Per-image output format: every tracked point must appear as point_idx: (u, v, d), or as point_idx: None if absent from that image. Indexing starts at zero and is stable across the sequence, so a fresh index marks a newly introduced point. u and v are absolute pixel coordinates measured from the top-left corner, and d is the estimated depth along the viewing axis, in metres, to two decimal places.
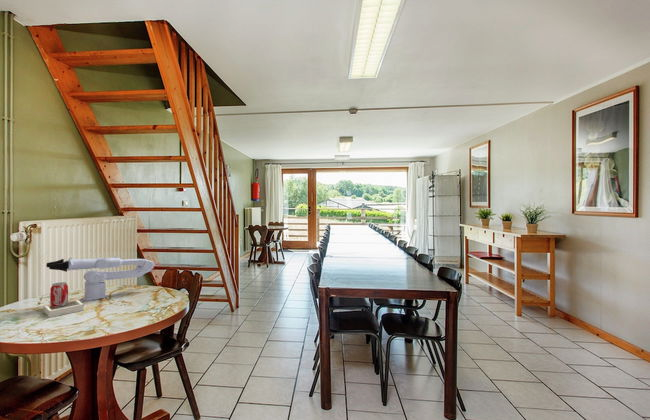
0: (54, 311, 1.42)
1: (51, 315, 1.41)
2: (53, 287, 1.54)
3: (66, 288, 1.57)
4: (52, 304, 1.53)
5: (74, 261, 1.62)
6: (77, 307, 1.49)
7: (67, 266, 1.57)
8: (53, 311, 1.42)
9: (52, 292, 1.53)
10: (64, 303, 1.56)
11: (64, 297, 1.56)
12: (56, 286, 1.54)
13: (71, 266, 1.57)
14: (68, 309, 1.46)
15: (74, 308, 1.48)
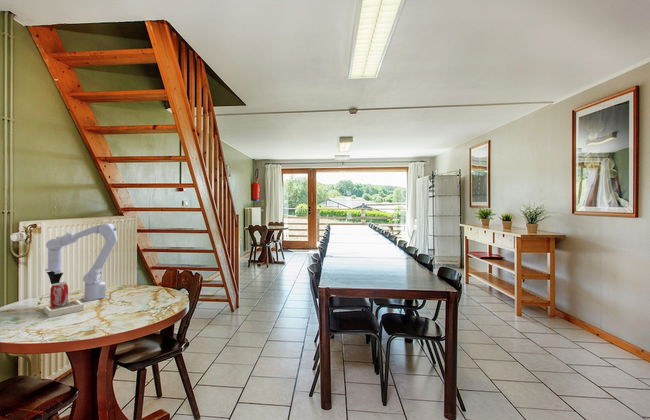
0: (54, 311, 1.42)
1: (51, 315, 1.41)
2: (53, 287, 1.54)
3: (66, 288, 1.57)
4: (52, 304, 1.53)
5: (50, 267, 1.61)
6: (77, 307, 1.49)
7: None
8: (53, 311, 1.42)
9: (52, 292, 1.53)
10: (64, 303, 1.56)
11: (64, 297, 1.56)
12: (56, 286, 1.54)
13: (57, 271, 1.59)
14: (68, 309, 1.46)
15: (74, 308, 1.48)
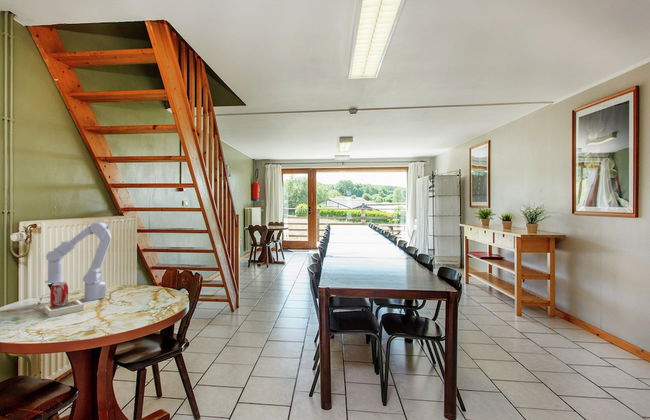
0: (54, 311, 1.42)
1: (51, 315, 1.41)
2: (53, 287, 1.54)
3: (66, 288, 1.57)
4: (52, 304, 1.53)
5: (50, 279, 1.61)
6: (77, 307, 1.49)
7: None
8: (53, 311, 1.42)
9: (52, 292, 1.53)
10: (64, 303, 1.56)
11: (64, 297, 1.56)
12: (56, 286, 1.54)
13: None
14: (68, 309, 1.46)
15: (74, 308, 1.48)
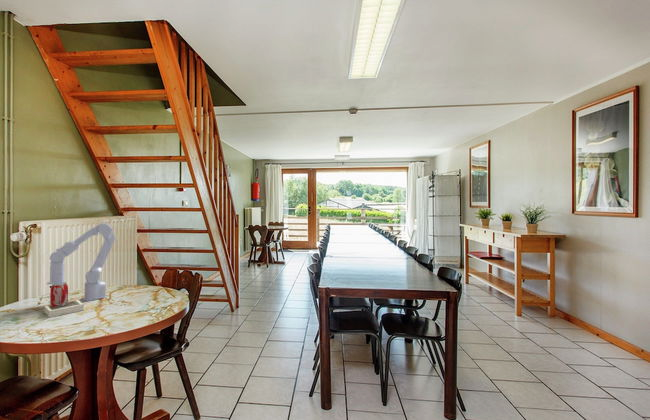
0: (54, 311, 1.42)
1: (51, 315, 1.41)
2: (53, 287, 1.54)
3: (66, 288, 1.57)
4: (52, 304, 1.53)
5: (52, 280, 1.58)
6: (77, 307, 1.49)
7: None
8: (53, 311, 1.42)
9: (52, 292, 1.53)
10: (64, 303, 1.56)
11: (64, 297, 1.56)
12: (56, 286, 1.54)
13: None
14: (68, 309, 1.46)
15: (74, 308, 1.48)
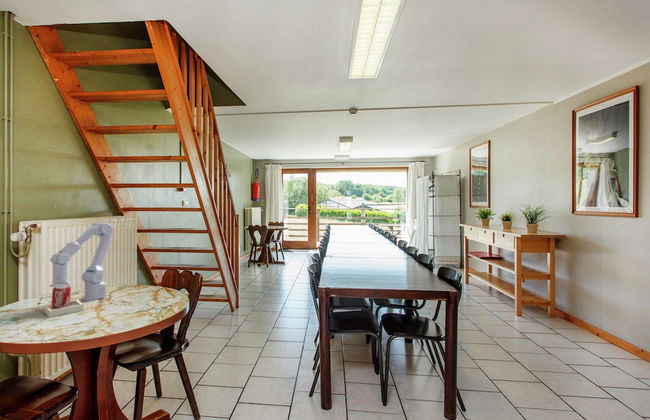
0: (54, 311, 1.42)
1: (51, 315, 1.41)
2: (55, 290, 1.48)
3: (68, 291, 1.52)
4: (53, 305, 1.50)
5: (55, 282, 1.53)
6: (77, 307, 1.49)
7: None
8: (53, 311, 1.42)
9: (53, 294, 1.49)
10: (65, 305, 1.52)
11: (66, 300, 1.52)
12: (58, 289, 1.49)
13: None
14: (68, 309, 1.46)
15: (74, 308, 1.48)
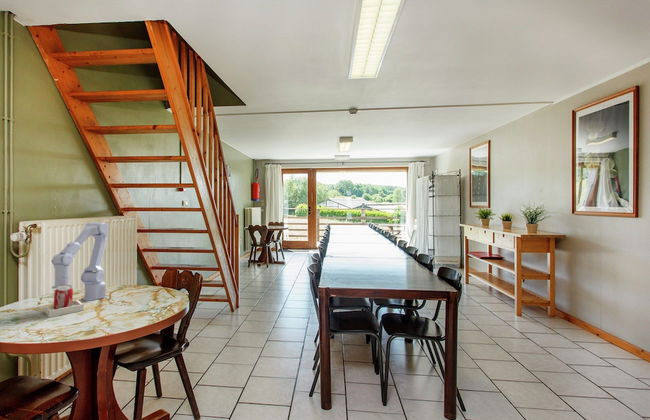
0: (54, 311, 1.42)
1: (51, 315, 1.41)
2: (57, 291, 1.45)
3: (70, 293, 1.49)
4: (55, 308, 1.47)
5: (57, 284, 1.50)
6: (77, 307, 1.49)
7: None
8: (53, 311, 1.42)
9: (55, 296, 1.45)
10: None
11: (68, 302, 1.49)
12: (60, 291, 1.45)
13: None
14: (68, 309, 1.46)
15: (74, 308, 1.48)
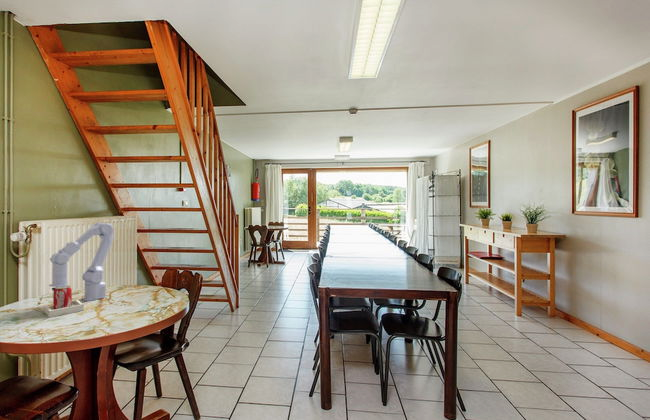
0: (54, 311, 1.42)
1: (51, 315, 1.41)
2: (56, 290, 1.47)
3: (69, 292, 1.51)
4: (54, 308, 1.47)
5: (55, 282, 1.54)
6: (77, 307, 1.49)
7: None
8: (53, 311, 1.42)
9: (54, 296, 1.47)
10: None
11: (67, 301, 1.49)
12: (58, 289, 1.48)
13: None
14: (68, 309, 1.46)
15: (74, 308, 1.48)
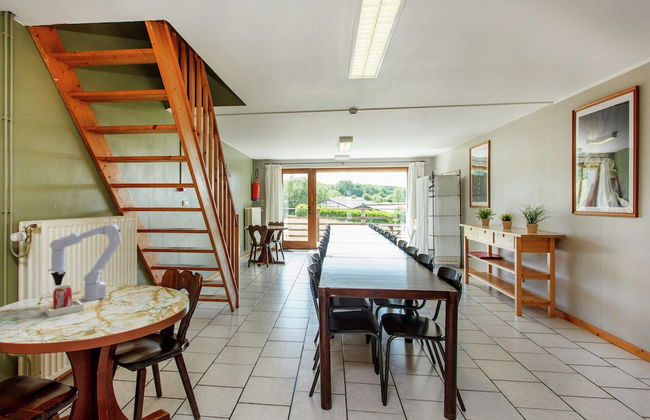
0: (54, 311, 1.42)
1: (51, 315, 1.41)
2: (56, 290, 1.47)
3: (69, 292, 1.51)
4: (54, 308, 1.47)
5: (54, 267, 1.60)
6: (77, 307, 1.49)
7: (59, 273, 1.61)
8: (53, 311, 1.42)
9: (54, 296, 1.47)
10: None
11: (67, 301, 1.49)
12: (58, 289, 1.48)
13: (60, 272, 1.58)
14: (68, 309, 1.46)
15: (74, 308, 1.48)
